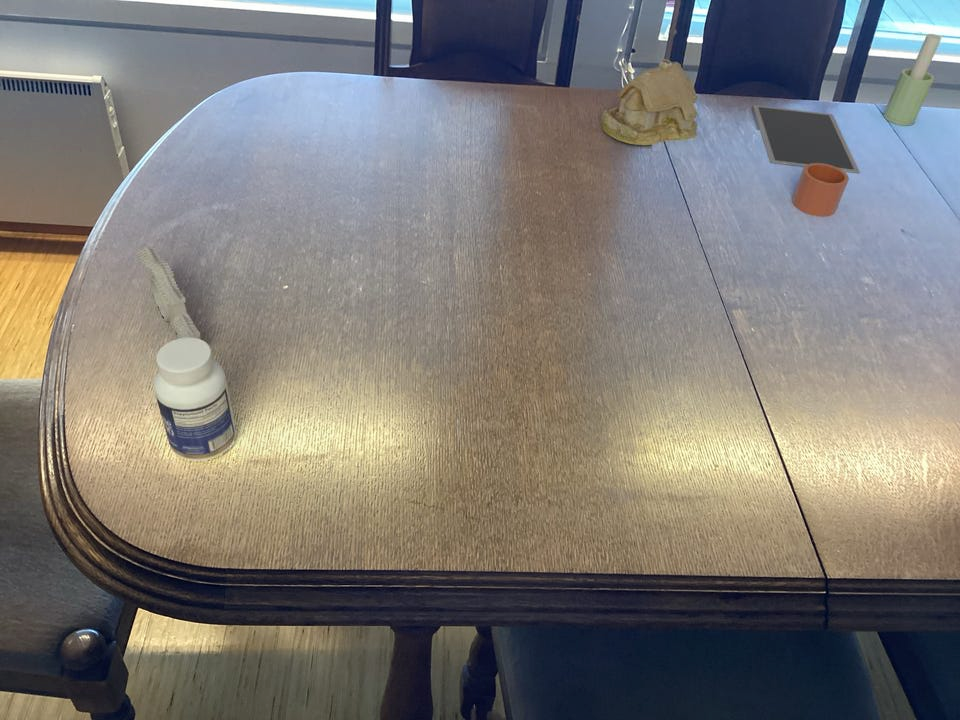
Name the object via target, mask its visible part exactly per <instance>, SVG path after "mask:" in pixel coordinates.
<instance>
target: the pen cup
mask: <svg viewBox="0 0 960 720" xmlns="http://www.w3.org/2000/svg"><path fill="white" fill-rule="evenodd" d="M912 68H913V67H911V68H909V67H908V68H904V69H902V70H901V72H900V75H899V77H898V79H897V82H896V84H895V86H894V89H893V91H892V93H891V95H890V98H889V100H888V103H887V105H886V107H885V110H884V112H883V114H882V117H883V118H884V119H885V120H886V121H888V122H890V123H892V124H895V125H899V126H912V125H914V124H915V122H916V120H917V118H918V116H919V113H920V111H921V109H922V107H923V105H924V103H925V100H926V98H927V96H928V94H929V92H930V90H931V87H932V85H933V83H934V80H935V76H934V75H933V74H932V73H930V72H928V71H927V72H926V74H925V76H924V78H923V80H920V79H916V78H912V77H910V76H909V75H910V73H911V70H912Z"/></svg>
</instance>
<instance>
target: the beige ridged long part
mask: <svg viewBox="0 0 960 720" xmlns="http://www.w3.org/2000/svg"><path fill="white" fill-rule="evenodd" d="M137 255H138V257H139V259H140V261H141V262H142V264H143V266H144V267H145V270H146V274H147V278H148V283H149V286H150V290H152V291H151V293H152V292H153V293H152V295H153V298H154V302H155V305H156V306H158V307H159V309H160V307H164V310H165V314H166V318H165V320H166V321H165V320H164V321H165V322H166V323H168V322H169V321H170V323H171V324H172V326H173V327H174V329H175V331H176V333H177V335H176V337H177V338H176V339H179V338H185V337H191V338H198V339H201V332H200V331H199V330H200V329H199V330H198V328H197V326H195V324H194V321H193V319H192V318H191V316H190V315H189V313H187V308H186V304H185V303H186V297H185V296H184V294H183V292H181V290H180V287H179V286H178V284H177V281H175V278H174V276H175V274H174V271H173V270H172V268H171V266H170V264H169V262H168V261H165V260H163V259H162V258H161V257H160V254H158V252H157V250H156V248H155V247H150V246H148V245H146V246H144V247H143V249H141V250H140V251H138V252H137ZM158 307H157V308H158ZM159 309H158V310H159ZM167 321H168V322H167ZM170 323H169V324H170ZM171 324H170V325H171ZM172 326H171V327H172ZM175 331H174V332H175ZM176 333H175V334H176ZM201 340H202V339H201Z"/></svg>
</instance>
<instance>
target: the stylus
mask: <svg viewBox="0 0 960 720" xmlns="http://www.w3.org/2000/svg"><path fill="white" fill-rule="evenodd" d="M941 40H942V37H941V36H940V35H937V34H933V33H928V34H926V36H925V38H924V40H923V43H922V45H921V48H920V50H919V52H918V54H917V57H916V59H915V61H914V63H913V66H912V67H911V68H912V70H911V73H910V75H909V76H910V77H912V78H916V79H920V80H923V78H924V76H925V74H926V72H928V69H929V67H930V65H931V63H932V60H933V58H934V56H935V54H936V52H937V49H938V47H939V45H940V43H941Z"/></svg>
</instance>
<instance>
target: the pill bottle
mask: <svg viewBox="0 0 960 720" xmlns="http://www.w3.org/2000/svg"><path fill="white" fill-rule="evenodd" d="M211 348H212V347H211V346H210V345H209V343H207V342H206V341H205V340H204V339H198V338H191V337H185V338H179V339H178V338H176V339H173V340H171V341H168V342H166V343H165V344H164V345H162V346H161V347H160V348H159V350H158V352H157V354H156V365H157V368H158V371H157V373H156V374H155V375H156V376H155V378H154V382H153V390H154V395H155V398H156V402H157V406H158V409H159V413H160V416H161V420H162V425H163V427H164V431H165V434H166V437H167V441H168V444H169V447H170V450H171V449H172V450H173V451H172V450H171V451H172V453H173V452H174V453H175V454H176V455H178V456H179V457H181V458H183V459H186V460H189V461H190V460H191V461H203V460H209V459H212V458H214V457H218V456H219V455H221V454H223V453H224V452H225V451H226V450H228V448H230V446H231V445H232V443H233V441H234V440H235V441H236V438H235V436H236V437H237V430H236V423H235V418H234V412H233V407H232V402H231V398H230V391H229V386H228V380H227V377H226V373H225V370H224V369H223V367H222V366H221V364H220V363H219V362H217V361H216V360H215V358H214V356H213V353H212V349H211ZM230 449H231V448H230ZM228 451H229V450H228ZM174 453H173V454H174ZM175 454H174V455H175ZM176 455H175V456H176ZM179 457H178V458H179Z"/></svg>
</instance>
